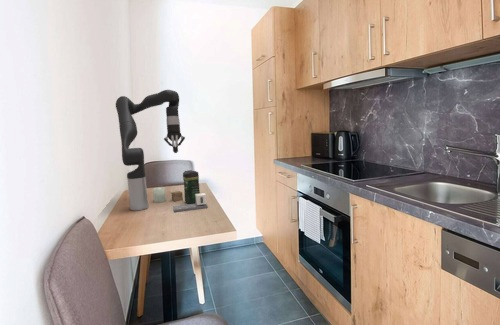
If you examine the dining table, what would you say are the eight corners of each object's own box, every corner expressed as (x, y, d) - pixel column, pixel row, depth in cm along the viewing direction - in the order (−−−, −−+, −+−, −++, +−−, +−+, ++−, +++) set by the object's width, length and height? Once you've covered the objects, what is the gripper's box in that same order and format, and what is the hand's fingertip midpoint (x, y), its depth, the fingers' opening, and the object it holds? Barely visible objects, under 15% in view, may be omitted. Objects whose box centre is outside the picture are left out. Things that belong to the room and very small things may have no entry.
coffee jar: (202, 202, 163) (200, 170, 161) (189, 205, 158) (187, 172, 156) (195, 199, 171) (193, 168, 169) (183, 201, 166) (180, 170, 164)
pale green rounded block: (153, 200, 174) (152, 187, 173) (165, 199, 176) (164, 186, 175) (153, 203, 167) (152, 189, 166) (166, 201, 169) (165, 188, 168)
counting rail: (173, 208, 153) (173, 205, 152) (204, 204, 158) (204, 201, 158) (174, 212, 145) (174, 209, 145) (207, 207, 150) (207, 205, 150)
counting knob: (195, 203, 155) (195, 194, 154) (205, 201, 156) (204, 192, 156) (197, 205, 149) (196, 196, 149) (206, 204, 151) (206, 194, 150)
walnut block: (172, 200, 172) (171, 192, 172) (179, 198, 175) (179, 190, 174) (174, 201, 168) (174, 193, 168) (182, 200, 171) (182, 192, 170)
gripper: (183, 124, 176) (186, 151, 178) (161, 124, 172) (164, 153, 173) (185, 123, 169) (187, 152, 171) (162, 124, 165) (164, 154, 166)
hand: (175, 152), depth 172 cm, fingers closed
